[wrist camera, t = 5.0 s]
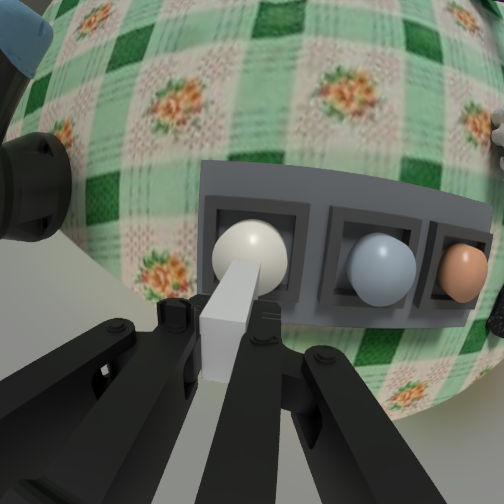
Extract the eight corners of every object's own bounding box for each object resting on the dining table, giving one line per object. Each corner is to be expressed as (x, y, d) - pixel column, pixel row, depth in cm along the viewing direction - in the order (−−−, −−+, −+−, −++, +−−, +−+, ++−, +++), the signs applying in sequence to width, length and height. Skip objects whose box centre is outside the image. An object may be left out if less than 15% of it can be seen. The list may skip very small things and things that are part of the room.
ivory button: (218, 280, 22) (211, 292, 20) (221, 216, 21) (213, 221, 18) (282, 287, 22) (282, 300, 19) (289, 222, 20) (291, 227, 18)
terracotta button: (431, 292, 22) (443, 302, 19) (443, 239, 20) (457, 245, 18) (466, 293, 21) (478, 302, 19) (478, 245, 20) (492, 251, 18)
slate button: (340, 291, 21) (347, 304, 19) (350, 228, 20) (360, 235, 17) (395, 295, 21) (406, 307, 18) (408, 236, 19) (422, 243, 17)
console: (207, 296, 29) (192, 320, 24) (212, 163, 25) (196, 158, 20) (448, 312, 27) (470, 332, 22) (472, 202, 23) (501, 207, 18)
